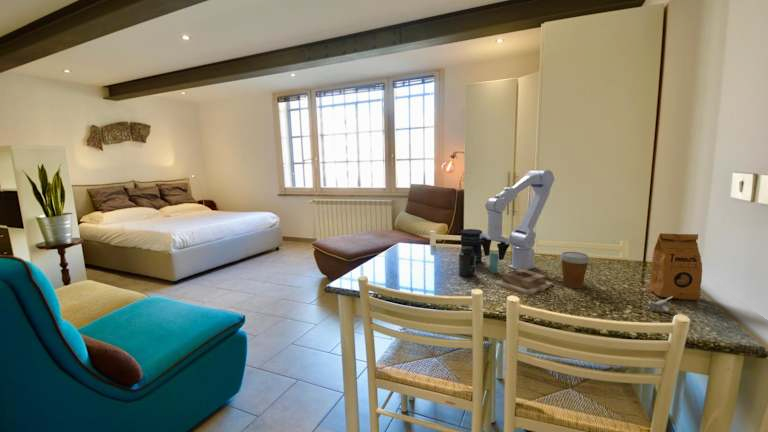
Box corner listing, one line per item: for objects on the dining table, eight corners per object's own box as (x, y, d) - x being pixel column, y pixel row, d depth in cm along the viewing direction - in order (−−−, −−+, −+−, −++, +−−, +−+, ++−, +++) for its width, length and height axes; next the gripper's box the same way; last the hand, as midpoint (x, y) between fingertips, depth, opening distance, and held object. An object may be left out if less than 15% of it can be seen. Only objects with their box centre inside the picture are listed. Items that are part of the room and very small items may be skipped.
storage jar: (484, 264, 156) (485, 233, 154) (462, 265, 156) (463, 233, 154) (478, 258, 166) (479, 228, 164) (458, 259, 166) (458, 229, 164)
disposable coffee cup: (576, 292, 122) (579, 259, 120) (553, 283, 130) (554, 253, 129) (593, 286, 126) (595, 255, 124) (569, 279, 135) (570, 250, 133)
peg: (493, 270, 148) (493, 252, 147) (499, 272, 146) (499, 254, 144) (488, 271, 147) (488, 253, 145) (494, 273, 144) (494, 255, 143)
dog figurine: (652, 315, 108) (640, 301, 108) (677, 302, 105) (665, 288, 106) (657, 320, 105) (645, 305, 105) (683, 306, 102) (670, 291, 103)
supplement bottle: (475, 277, 139) (476, 249, 137) (458, 277, 141) (458, 248, 139) (474, 272, 146) (475, 245, 144) (458, 271, 147) (458, 245, 145)
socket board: (521, 275, 140) (521, 266, 140) (553, 285, 129) (554, 275, 128) (495, 283, 132) (495, 274, 131) (527, 295, 120) (527, 284, 120)
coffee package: (703, 304, 110) (712, 237, 106) (657, 299, 114) (664, 235, 110) (688, 292, 119) (695, 231, 115) (645, 289, 123) (651, 229, 119)
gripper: (475, 224, 147) (474, 255, 149) (502, 230, 135) (501, 263, 137) (486, 223, 151) (485, 252, 153) (514, 228, 138) (513, 260, 141)
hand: (493, 257), depth 145 cm, fingers open, 7 cm apart
